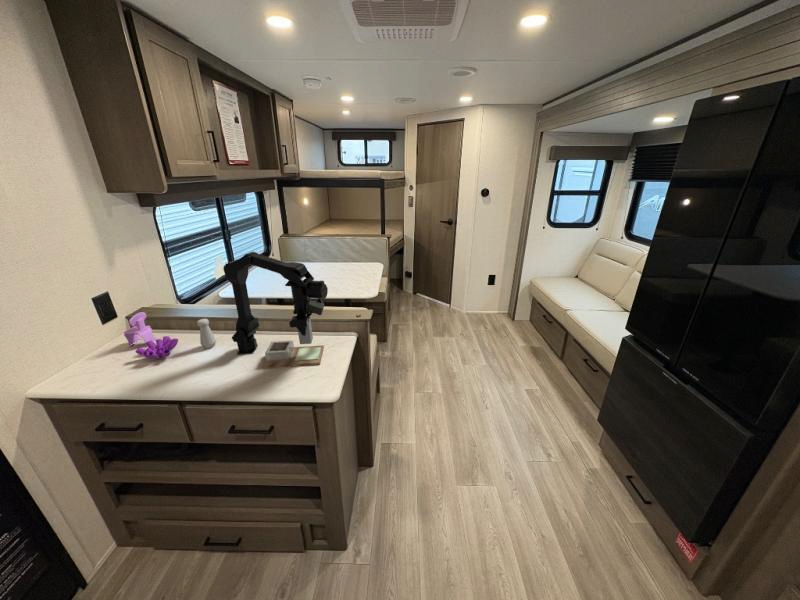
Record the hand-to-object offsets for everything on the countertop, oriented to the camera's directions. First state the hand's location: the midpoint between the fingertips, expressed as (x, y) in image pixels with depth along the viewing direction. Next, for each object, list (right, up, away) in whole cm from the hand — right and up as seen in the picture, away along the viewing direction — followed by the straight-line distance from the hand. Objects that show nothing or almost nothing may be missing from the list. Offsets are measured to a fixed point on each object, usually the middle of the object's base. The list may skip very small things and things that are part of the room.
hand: (305, 332), depth 123 cm
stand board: (-5, -11, +4) cm, 13 cm away
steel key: (0, -4, +2) cm, 4 cm away
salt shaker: (-46, -8, +12) cm, 48 cm away
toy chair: (-77, -7, +15) cm, 79 cm away
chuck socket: (-11, -11, +3) cm, 16 cm away
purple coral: (-62, -10, +6) cm, 64 cm away
